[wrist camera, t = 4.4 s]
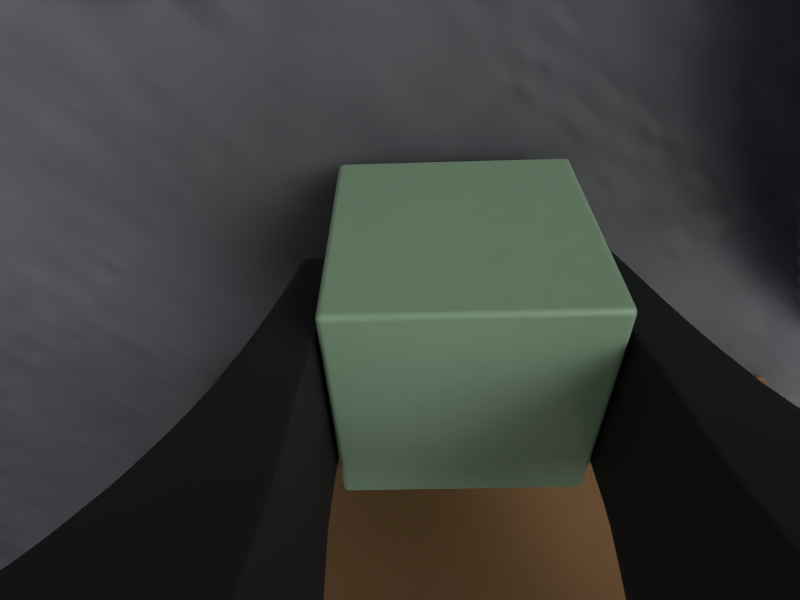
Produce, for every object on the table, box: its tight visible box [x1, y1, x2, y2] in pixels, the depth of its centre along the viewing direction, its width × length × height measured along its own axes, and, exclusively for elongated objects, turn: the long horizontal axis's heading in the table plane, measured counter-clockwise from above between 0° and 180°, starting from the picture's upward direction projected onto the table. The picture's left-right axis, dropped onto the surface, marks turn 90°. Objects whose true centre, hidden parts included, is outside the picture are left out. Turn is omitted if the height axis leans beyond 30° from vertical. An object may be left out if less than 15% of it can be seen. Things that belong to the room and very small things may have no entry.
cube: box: [315, 159, 637, 490], centre depth 10 cm, size 4×4×4 cm
